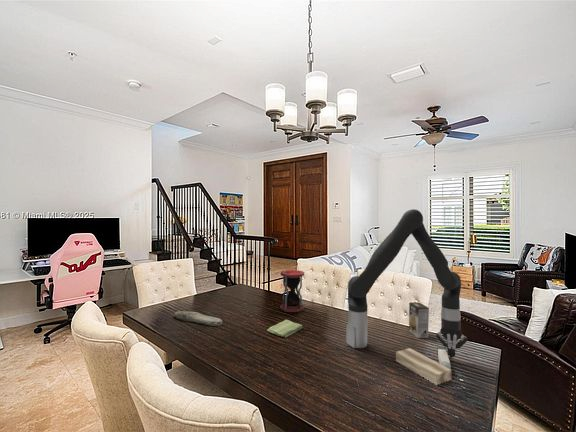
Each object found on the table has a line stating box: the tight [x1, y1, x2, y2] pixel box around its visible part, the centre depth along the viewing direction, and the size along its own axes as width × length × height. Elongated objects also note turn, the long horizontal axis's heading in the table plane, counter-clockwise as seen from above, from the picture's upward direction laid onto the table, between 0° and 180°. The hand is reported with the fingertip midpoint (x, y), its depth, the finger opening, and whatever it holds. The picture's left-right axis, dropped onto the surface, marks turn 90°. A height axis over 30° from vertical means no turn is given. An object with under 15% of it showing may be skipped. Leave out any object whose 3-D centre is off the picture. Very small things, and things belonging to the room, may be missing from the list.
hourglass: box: [279, 269, 305, 313], centre depth 195 cm, size 16×16×25 cm
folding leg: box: [436, 345, 452, 370], centre depth 123 cm, size 18×4×4 cm, turn 157°
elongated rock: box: [173, 310, 223, 327], centre depth 171 cm, size 35×5×10 cm
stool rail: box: [395, 348, 452, 386], centre depth 118 cm, size 8×20×4 cm, turn 25°
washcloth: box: [266, 319, 303, 339], centre depth 158 cm, size 13×18×3 cm
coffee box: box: [408, 301, 430, 339], centre depth 154 cm, size 9×6×16 cm
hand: (451, 356), depth 127 cm, fingers closed
